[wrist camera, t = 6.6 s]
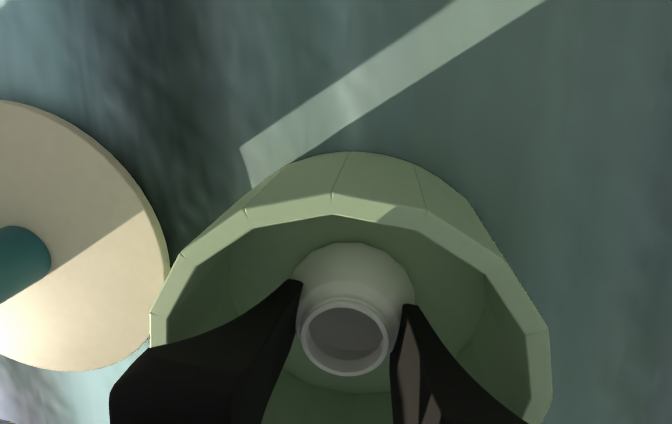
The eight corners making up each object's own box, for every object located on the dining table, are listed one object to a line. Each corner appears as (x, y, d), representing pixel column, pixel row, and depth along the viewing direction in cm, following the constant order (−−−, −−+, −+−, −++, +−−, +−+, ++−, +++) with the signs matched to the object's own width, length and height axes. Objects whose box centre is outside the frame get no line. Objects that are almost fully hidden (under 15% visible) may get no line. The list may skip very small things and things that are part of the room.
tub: (452, 417, 18) (478, 554, 13) (213, 364, 19) (149, 475, 14) (539, 183, 14) (627, 248, 9) (229, 125, 15) (146, 154, 10)
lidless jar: (270, 264, 16) (324, 357, 17) (245, 305, 13) (312, 412, 14) (383, 219, 15) (432, 323, 16) (382, 253, 12) (442, 376, 13)
